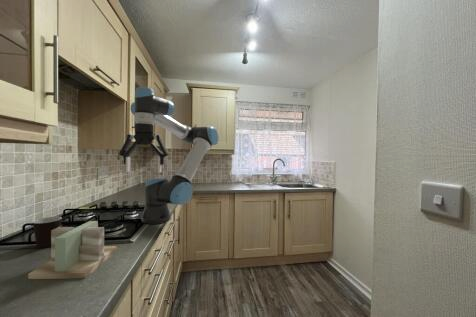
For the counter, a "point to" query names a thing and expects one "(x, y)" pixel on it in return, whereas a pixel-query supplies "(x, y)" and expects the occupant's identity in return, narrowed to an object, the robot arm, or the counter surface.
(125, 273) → the counter surface
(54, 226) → the coffee mug
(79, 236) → the sage slotted plate
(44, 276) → the slotted base
